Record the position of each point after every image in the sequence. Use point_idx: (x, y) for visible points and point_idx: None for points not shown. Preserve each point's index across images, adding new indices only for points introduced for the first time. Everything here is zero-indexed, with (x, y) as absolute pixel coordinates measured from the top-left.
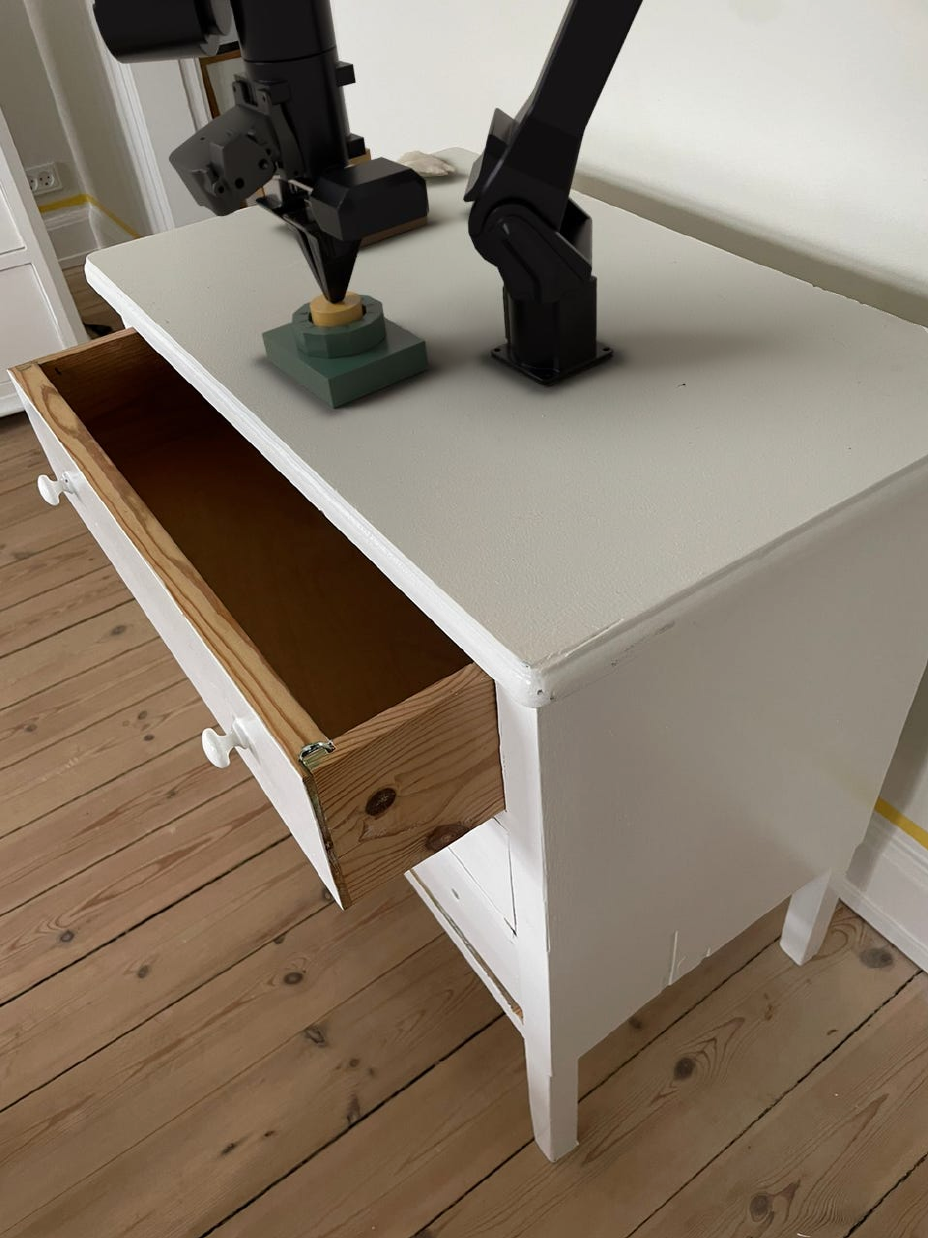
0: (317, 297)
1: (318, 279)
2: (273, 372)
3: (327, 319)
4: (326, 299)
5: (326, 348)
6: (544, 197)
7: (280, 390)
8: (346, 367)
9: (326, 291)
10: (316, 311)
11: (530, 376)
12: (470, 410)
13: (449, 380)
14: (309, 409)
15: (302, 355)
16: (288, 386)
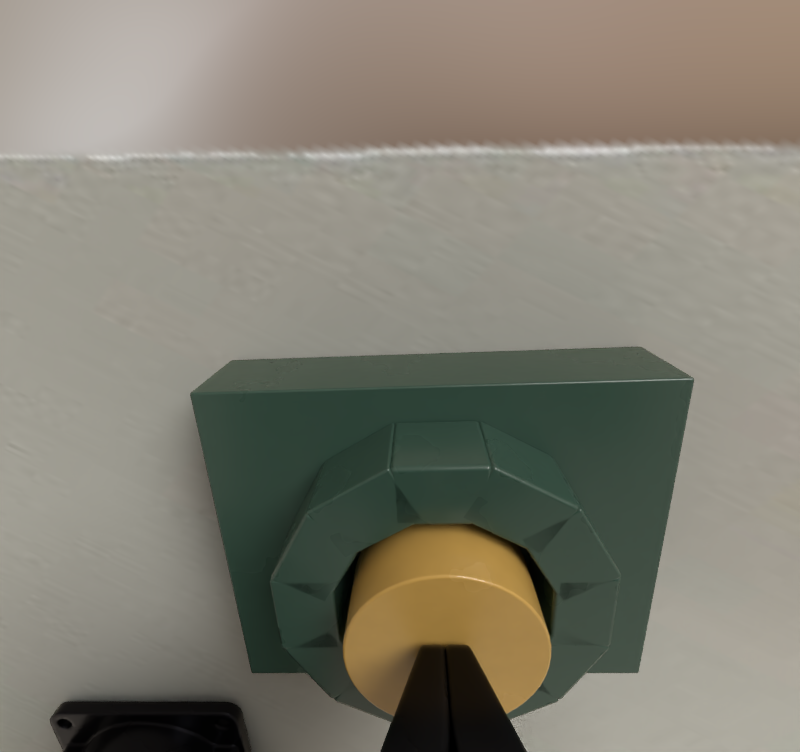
0: (536, 632)
1: (471, 739)
2: (557, 325)
3: (375, 572)
4: (457, 648)
5: (319, 478)
6: None
7: (435, 291)
8: (234, 470)
9: (426, 690)
10: (416, 576)
11: (94, 707)
12: (52, 574)
13: (201, 607)
14: (271, 307)
15: (408, 408)
16: (441, 321)
